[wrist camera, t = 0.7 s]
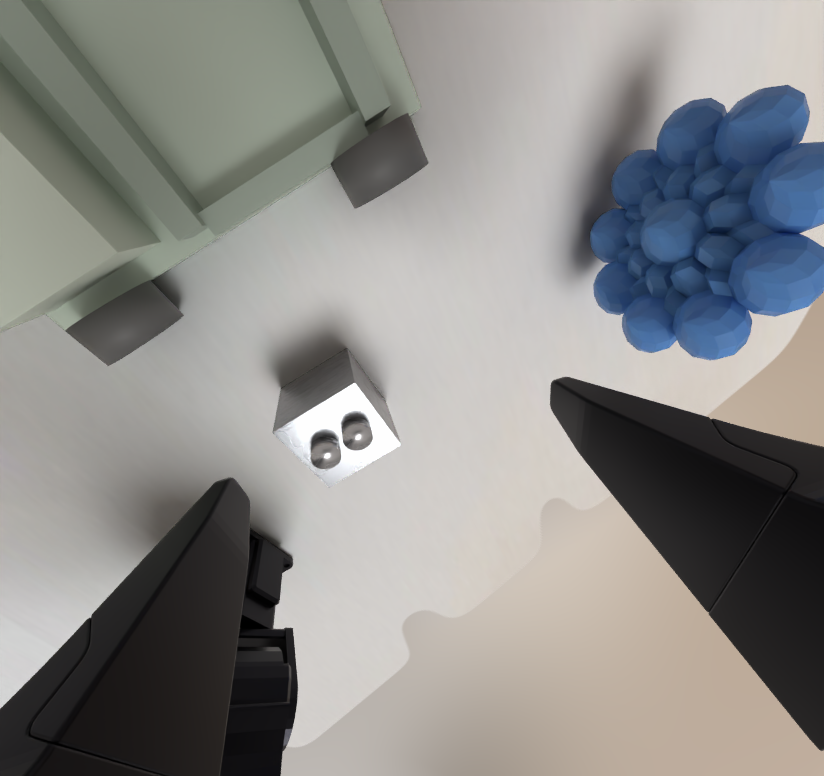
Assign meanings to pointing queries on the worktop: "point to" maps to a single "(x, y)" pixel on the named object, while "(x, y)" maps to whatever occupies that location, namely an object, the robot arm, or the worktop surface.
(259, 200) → the chassis
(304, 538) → the worktop surface
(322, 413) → the block
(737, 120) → the grapes
